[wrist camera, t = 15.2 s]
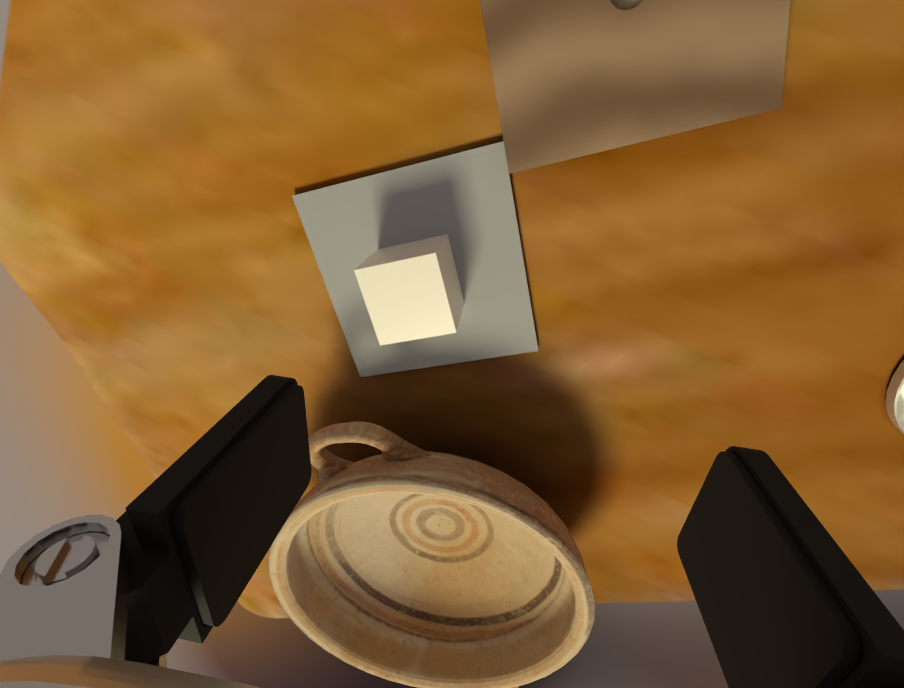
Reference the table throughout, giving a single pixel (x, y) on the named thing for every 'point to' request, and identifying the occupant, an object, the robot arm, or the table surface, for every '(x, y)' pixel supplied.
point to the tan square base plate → (628, 70)
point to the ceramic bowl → (430, 567)
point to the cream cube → (412, 290)
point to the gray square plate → (420, 217)
